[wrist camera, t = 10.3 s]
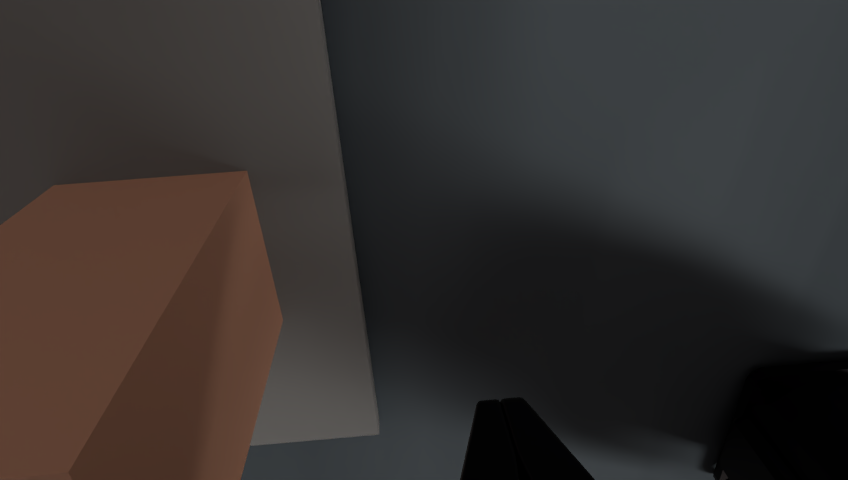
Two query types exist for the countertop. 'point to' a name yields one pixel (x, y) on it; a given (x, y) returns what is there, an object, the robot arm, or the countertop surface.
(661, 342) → the countertop surface
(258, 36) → the mat
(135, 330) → the block
